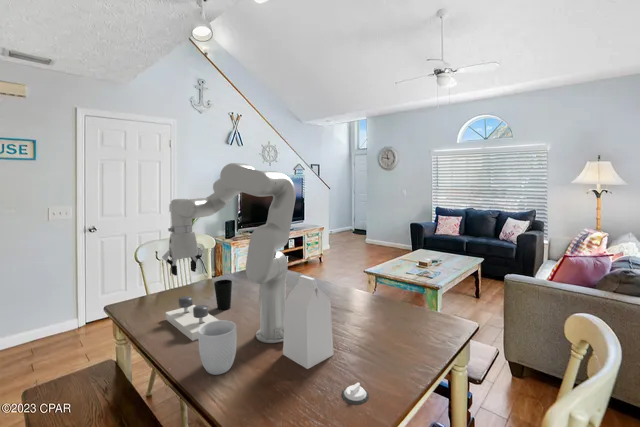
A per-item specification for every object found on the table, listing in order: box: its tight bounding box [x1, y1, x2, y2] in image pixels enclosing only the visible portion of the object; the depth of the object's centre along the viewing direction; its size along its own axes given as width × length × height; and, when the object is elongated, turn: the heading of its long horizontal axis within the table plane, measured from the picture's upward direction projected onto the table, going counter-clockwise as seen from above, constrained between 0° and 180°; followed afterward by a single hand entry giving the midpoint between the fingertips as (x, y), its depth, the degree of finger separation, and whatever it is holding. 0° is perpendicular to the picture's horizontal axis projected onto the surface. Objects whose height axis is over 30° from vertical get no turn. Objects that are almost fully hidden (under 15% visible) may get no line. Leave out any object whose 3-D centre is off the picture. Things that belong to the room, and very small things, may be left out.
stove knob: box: [341, 381, 370, 406], centre depth 87 cm, size 7×7×3 cm
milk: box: [282, 275, 334, 370], centre depth 107 cm, size 12×12×26 cm
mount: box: [165, 304, 219, 342], centre depth 131 cm, size 26×12×3 cm, turn 45°
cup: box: [214, 279, 233, 312], centre depth 147 cm, size 8×8×12 cm
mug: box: [197, 319, 238, 376], centre depth 101 cm, size 15×11×13 cm
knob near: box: [193, 304, 209, 324], centre depth 125 cm, size 5×5×6 cm
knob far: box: [178, 295, 194, 313], centre depth 135 cm, size 5×5×6 cm
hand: (184, 272), depth 134 cm, fingers open, 6 cm apart
